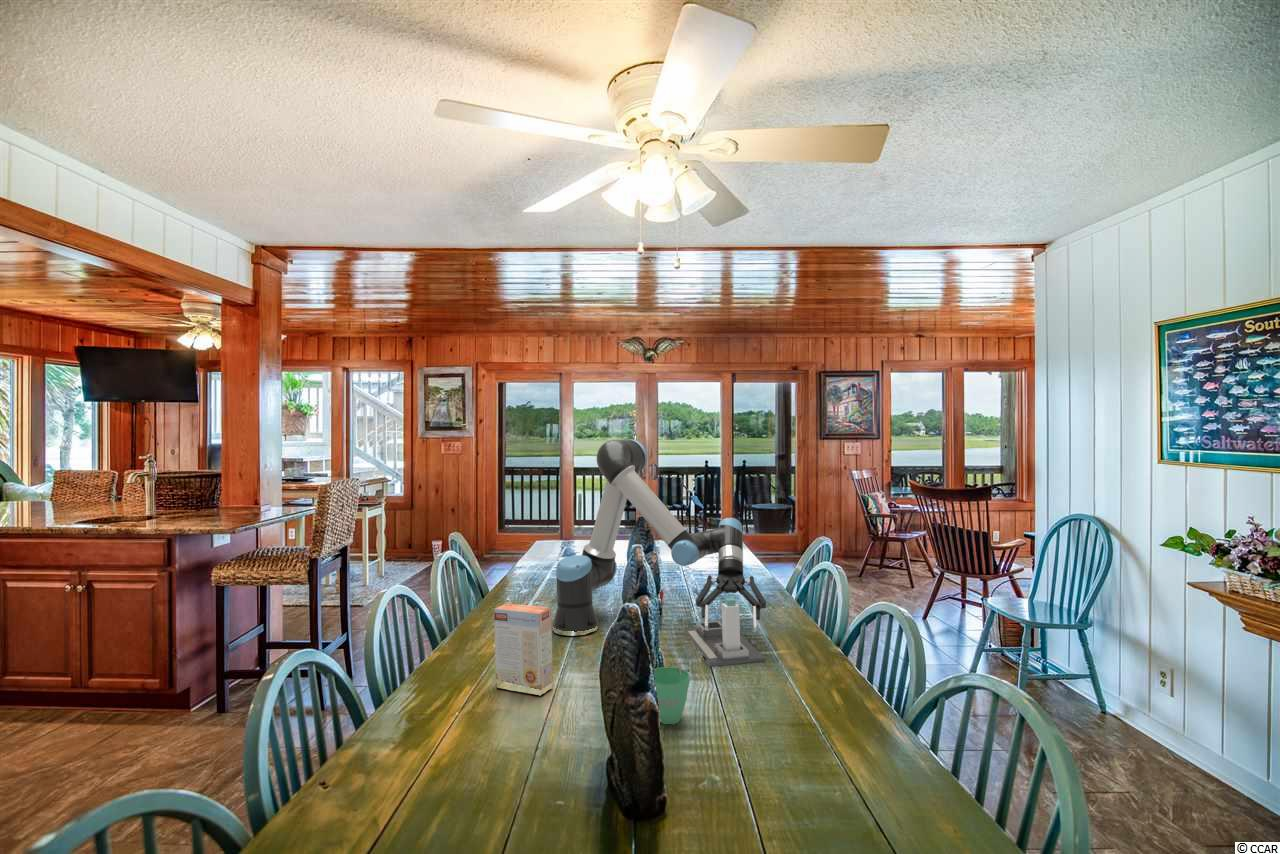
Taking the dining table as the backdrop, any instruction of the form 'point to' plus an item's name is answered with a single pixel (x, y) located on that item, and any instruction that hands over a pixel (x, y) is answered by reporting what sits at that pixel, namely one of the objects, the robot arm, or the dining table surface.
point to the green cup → (671, 693)
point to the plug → (730, 625)
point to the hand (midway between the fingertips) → (730, 629)
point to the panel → (721, 646)
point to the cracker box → (523, 645)
